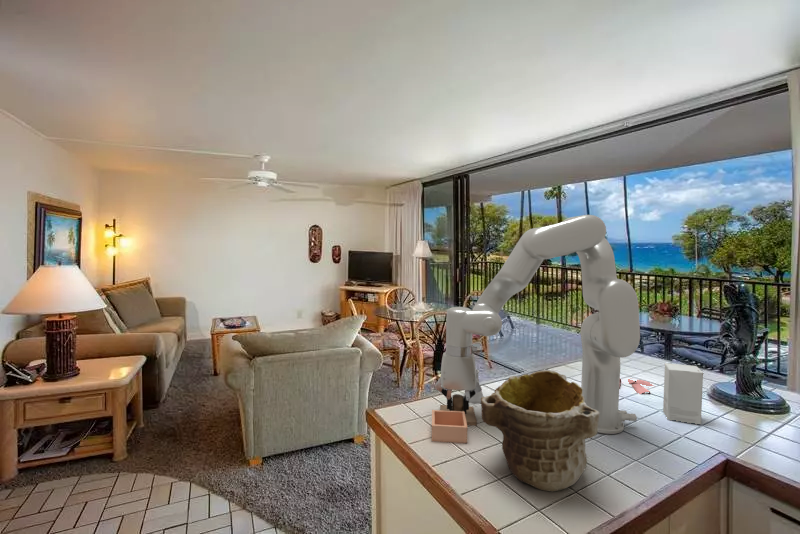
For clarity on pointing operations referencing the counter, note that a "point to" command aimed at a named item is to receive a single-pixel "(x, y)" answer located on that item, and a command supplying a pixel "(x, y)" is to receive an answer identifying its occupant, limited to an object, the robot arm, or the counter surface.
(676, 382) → the skincare box
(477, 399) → the flask
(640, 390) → the cloth
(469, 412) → the lid
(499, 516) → the counter surface
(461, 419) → the open square container
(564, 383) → the ceramic vessel
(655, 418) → the counter surface
